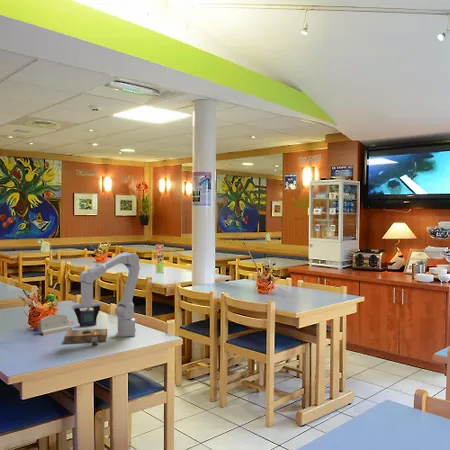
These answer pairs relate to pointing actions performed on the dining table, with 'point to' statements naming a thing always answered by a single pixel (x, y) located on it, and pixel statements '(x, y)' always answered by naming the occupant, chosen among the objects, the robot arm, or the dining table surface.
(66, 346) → the dining table surface
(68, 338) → the hitch block
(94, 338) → the pin
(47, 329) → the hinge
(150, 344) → the dining table surface
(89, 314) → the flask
